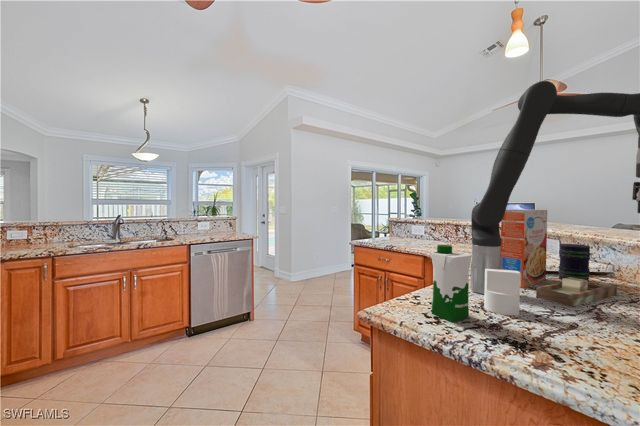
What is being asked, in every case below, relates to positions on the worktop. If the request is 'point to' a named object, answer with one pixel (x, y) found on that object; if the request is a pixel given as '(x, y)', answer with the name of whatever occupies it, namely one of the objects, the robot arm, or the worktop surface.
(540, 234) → the orange cereal box
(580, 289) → the maple block
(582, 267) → the storage jar
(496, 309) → the base with upright slab
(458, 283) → the milk carton
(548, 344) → the worktop surface
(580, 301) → the trap track
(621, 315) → the worktop surface
